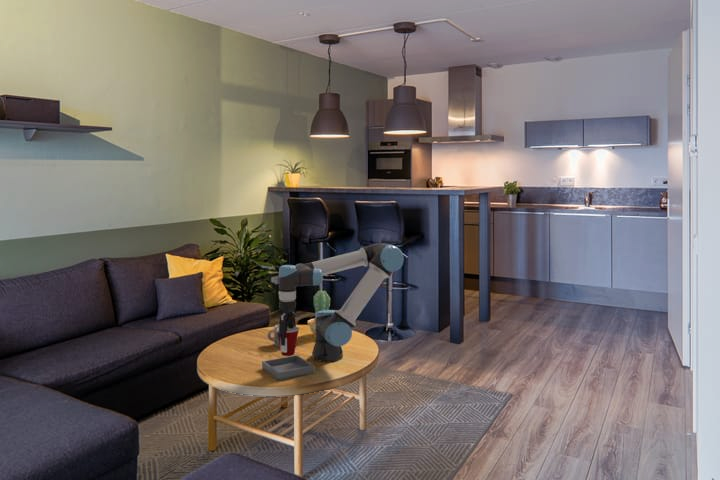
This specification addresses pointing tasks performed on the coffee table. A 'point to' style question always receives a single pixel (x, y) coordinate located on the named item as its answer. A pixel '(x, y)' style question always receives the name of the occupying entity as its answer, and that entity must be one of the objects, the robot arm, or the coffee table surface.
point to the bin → (287, 367)
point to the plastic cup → (289, 340)
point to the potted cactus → (319, 308)
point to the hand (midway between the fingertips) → (287, 348)
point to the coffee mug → (274, 336)
